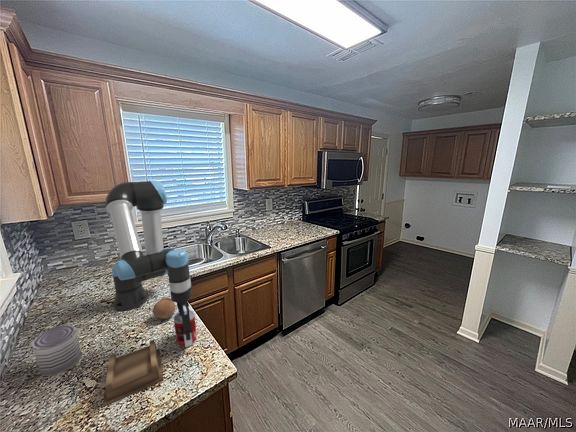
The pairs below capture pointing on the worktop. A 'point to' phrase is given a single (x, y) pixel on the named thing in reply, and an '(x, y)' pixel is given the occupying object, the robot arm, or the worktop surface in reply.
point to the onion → (164, 308)
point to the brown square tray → (132, 373)
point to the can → (57, 349)
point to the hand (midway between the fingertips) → (187, 338)
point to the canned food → (180, 330)
